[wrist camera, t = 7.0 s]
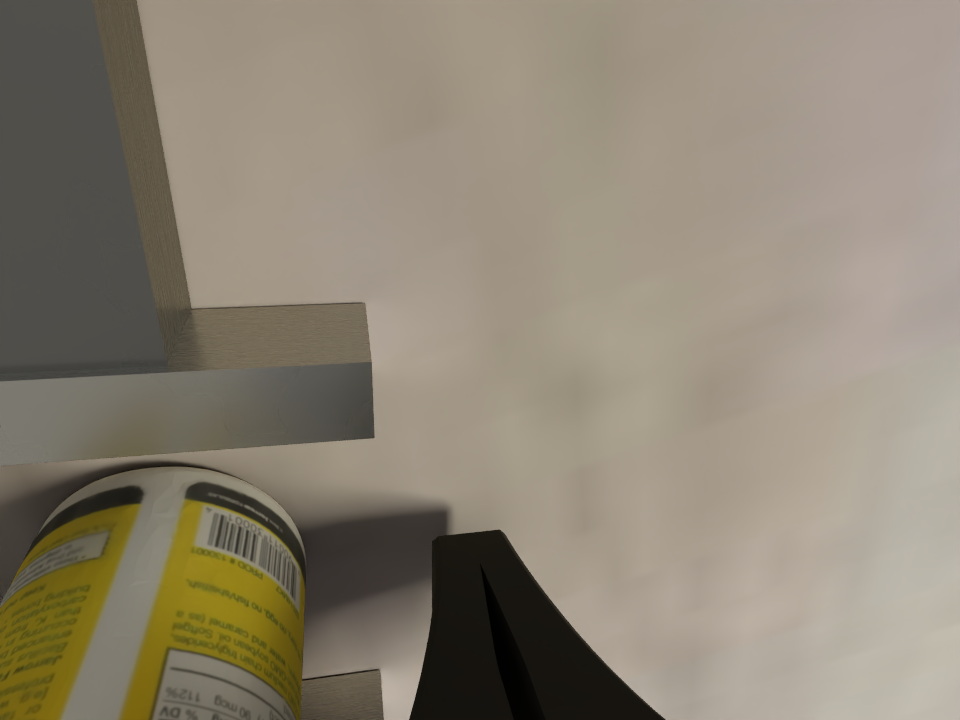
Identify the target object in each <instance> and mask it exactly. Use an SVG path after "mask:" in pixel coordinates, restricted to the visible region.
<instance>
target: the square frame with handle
mask: <svg viewBox="0 0 960 720" xmlns="http://www.w3.org/2000/svg"><path fill="white" fill-rule="evenodd" d="M369 438H374V414H373V387H372V361H371V352H370V343H369V333H368V324H367V315H366V306H365V303H356V304H329V305H301V306H274V307H247V308H220V309H191V304H190V298H189V292H188V287H187V281H186V276H185V270H184V264H183V259H182V253H181V248H180V242H179V236H178V231H177V225H176V220H175V214H174V208H173V203H172V197H171V192H170V186H169V180H168V175H167V169H166V163H165V158H164V152H163V147H162V141H161V135H160V130H159V124H158V119H157V113H156V107H155V102H154V96H153V91H152V85H151V79H150V74H149V68H148V63H147V57H146V51H145V46H144V40H143V35H142V29H141V23H140V18H139V12H138V7H137V1H136V0H0V466H6V465H19V464H33V463H46V462H59V461H73V460H86V459H100V458H113V457H127V456H140V455H153V454H167V453H180V452H194V451H207V450H221V449H234V448H248V447H261V446H274V445H288V444H301V443H315V442H328V441H342V440H355V439H369ZM301 720H384V716H383V702H382V688H381V674H380V670H377V671H370V672H363V673H356V674H348V675H341V676H334V677H327V678H320V679H313V680H305V681H302V693H301Z"/></svg>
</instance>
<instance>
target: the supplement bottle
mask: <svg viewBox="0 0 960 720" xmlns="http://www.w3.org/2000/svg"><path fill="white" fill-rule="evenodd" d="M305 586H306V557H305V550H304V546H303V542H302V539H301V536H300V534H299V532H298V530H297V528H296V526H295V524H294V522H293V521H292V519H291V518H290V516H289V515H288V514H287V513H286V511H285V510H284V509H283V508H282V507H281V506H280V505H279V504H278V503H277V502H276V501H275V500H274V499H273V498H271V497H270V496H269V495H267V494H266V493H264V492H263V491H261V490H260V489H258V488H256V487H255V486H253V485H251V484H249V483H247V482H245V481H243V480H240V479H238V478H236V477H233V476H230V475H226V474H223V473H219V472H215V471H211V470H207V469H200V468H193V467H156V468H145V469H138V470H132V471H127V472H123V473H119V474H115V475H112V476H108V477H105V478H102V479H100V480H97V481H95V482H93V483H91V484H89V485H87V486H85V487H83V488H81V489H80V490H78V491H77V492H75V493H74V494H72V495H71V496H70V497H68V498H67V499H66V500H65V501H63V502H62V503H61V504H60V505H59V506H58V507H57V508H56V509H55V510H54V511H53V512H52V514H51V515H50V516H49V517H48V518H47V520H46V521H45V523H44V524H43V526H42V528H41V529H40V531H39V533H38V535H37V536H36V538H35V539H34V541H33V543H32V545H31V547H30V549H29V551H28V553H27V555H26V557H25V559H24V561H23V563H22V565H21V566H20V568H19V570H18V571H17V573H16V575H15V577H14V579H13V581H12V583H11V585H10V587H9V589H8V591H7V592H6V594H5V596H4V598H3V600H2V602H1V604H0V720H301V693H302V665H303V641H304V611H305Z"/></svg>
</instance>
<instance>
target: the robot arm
mask: <svg viewBox="0 0 960 720" xmlns="http://www.w3.org/2000/svg"><path fill="white" fill-rule="evenodd" d="M409 720H665V719H664V718H663V717H662V716H660V715H659V714H658V713H657V712H656V711H655V710H654V709H652V708H651V707H650V706H649V705H648V704H647V703H646V702H645V701H644V700H643V699H641V698H640V697H639V696H638V695H637V694H636V693H635V692H634V691H633V690H632V689H631V688H630V687H629V686H628V685H627V684H626V683H624V682H623V681H622V680H621V679H620V678H619V677H618V676H617V675H616V674H615V673H614V672H613V671H612V670H611V669H610V668H609V667H608V666H607V665H606V664H605V663H604V661H603V660H602V659H601V658H600V657H599V656H598V655H597V654H596V653H595V652H594V651H593V650H592V649H591V647H590V646H589V645H588V644H587V643H586V642H585V641H584V640H583V638H582V637H581V636H580V635H579V634H578V633H577V632H576V631H575V629H574V628H573V627H572V626H571V625H570V623H569V622H568V621H567V620H566V619H565V617H564V616H563V615H562V614H561V612H560V611H559V610H558V609H557V607H556V606H555V605H554V604H553V602H552V601H551V600H550V599H549V597H548V596H547V595H546V594H545V592H544V591H543V590H542V588H541V587H540V586H539V584H538V583H537V581H536V580H535V579H534V577H533V576H532V574H531V573H530V572H529V570H528V569H527V567H526V566H525V565H524V563H523V562H522V560H521V559H520V557H519V556H518V554H517V553H516V551H515V550H514V548H513V546H512V545H511V543H510V542H509V540H508V538H507V537H506V535H505V534H504V533H503V532H502V531H501V530H492V531H483V532H474V533H465V534H456V535H447V536H438V537H437V538H436V539H435V540H434V541H432V618H431V626H430V632H429V637H428V642H427V647H426V652H425V657H424V662H423V667H422V672H421V677H420V681H419V685H418V689H417V693H416V697H415V701H414V704H413V708H412V711H411V715H410V719H409Z"/></svg>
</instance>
